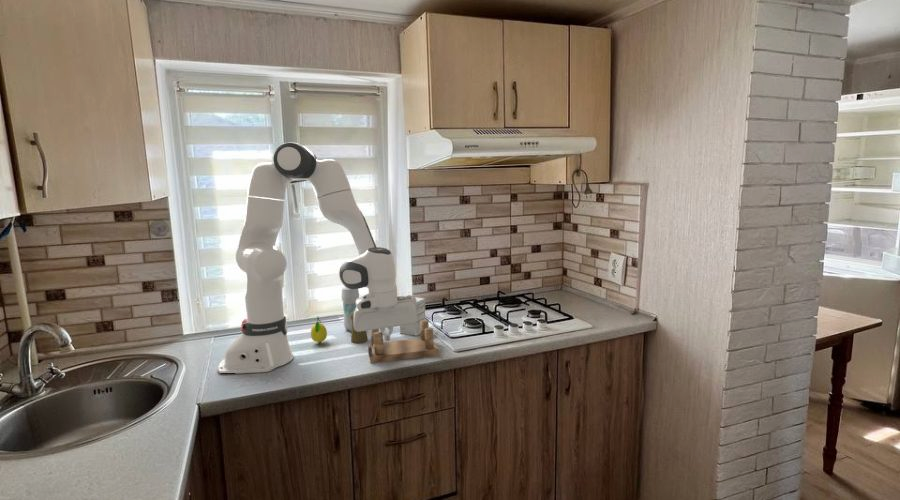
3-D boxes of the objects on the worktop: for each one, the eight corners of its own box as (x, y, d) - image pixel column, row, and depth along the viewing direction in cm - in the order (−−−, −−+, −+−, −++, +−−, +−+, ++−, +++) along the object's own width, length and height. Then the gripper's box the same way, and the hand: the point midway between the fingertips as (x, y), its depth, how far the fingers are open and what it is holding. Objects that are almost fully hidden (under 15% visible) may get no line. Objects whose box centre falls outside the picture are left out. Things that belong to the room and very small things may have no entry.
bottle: (363, 326, 185) (360, 277, 182) (358, 332, 179) (355, 281, 175) (347, 326, 186) (343, 277, 183) (341, 332, 179) (337, 281, 176)
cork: (364, 343, 167) (362, 313, 165) (348, 343, 168) (345, 313, 166) (370, 337, 172) (368, 308, 171) (354, 337, 174) (352, 308, 172)
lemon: (320, 338, 173) (318, 312, 172) (332, 341, 170) (330, 314, 169) (306, 344, 168) (304, 317, 166) (318, 347, 165) (316, 319, 163)
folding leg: (371, 347, 157) (370, 328, 156) (379, 345, 158) (378, 327, 157) (375, 354, 150) (374, 335, 149) (384, 353, 151) (383, 334, 150)
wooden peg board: (369, 363, 149) (367, 337, 148) (367, 349, 161) (365, 325, 160) (438, 354, 154) (437, 329, 153) (431, 342, 166) (430, 319, 164)
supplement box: (399, 333, 176) (397, 300, 174) (410, 327, 182) (408, 295, 180) (416, 336, 172) (414, 302, 170) (426, 330, 179) (425, 297, 177)
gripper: (414, 292, 155) (417, 332, 157) (350, 300, 150) (355, 341, 152) (417, 296, 149) (421, 338, 151) (351, 305, 144) (356, 348, 146)
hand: (387, 340), depth 152 cm, fingers closed
